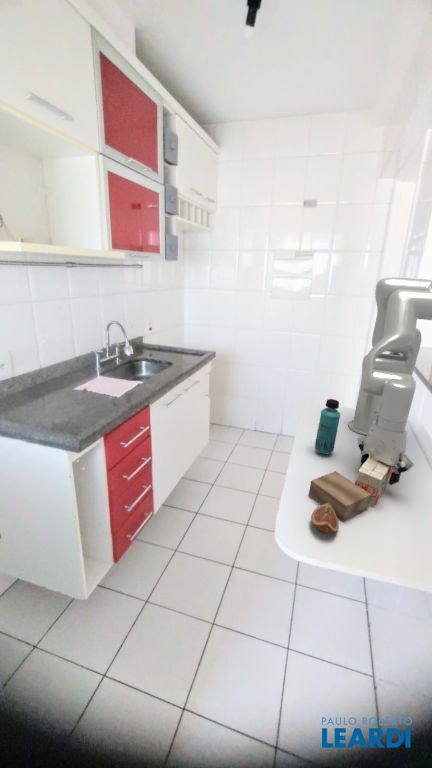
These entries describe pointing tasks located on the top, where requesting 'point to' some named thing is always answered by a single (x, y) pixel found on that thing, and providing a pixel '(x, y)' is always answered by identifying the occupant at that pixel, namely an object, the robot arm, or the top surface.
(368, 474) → the stack of blocks
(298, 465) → the top surface
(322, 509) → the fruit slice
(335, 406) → the beverage bottle
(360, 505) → the walnut base brick
